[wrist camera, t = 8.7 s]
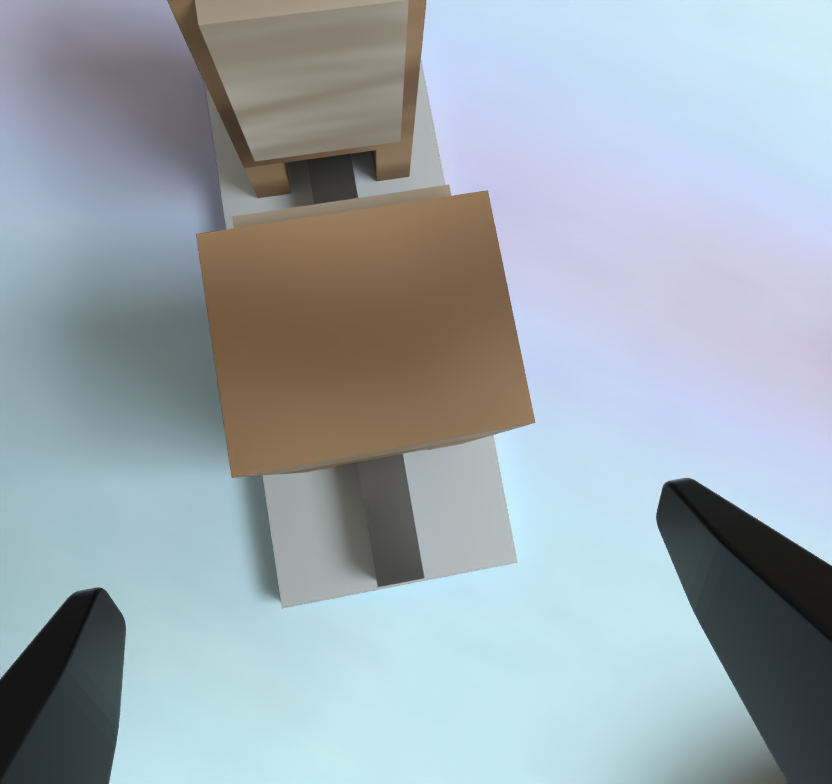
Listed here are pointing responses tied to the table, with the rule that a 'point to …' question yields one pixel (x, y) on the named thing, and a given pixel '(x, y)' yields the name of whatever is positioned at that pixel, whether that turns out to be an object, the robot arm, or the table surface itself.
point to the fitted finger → (309, 79)
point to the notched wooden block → (361, 330)
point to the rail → (387, 474)
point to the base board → (340, 486)
